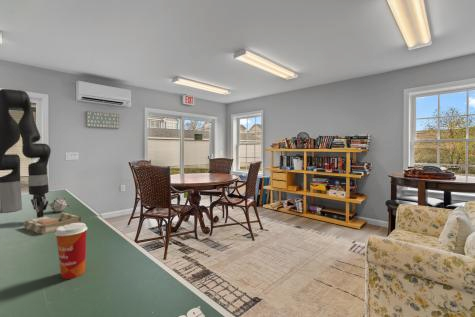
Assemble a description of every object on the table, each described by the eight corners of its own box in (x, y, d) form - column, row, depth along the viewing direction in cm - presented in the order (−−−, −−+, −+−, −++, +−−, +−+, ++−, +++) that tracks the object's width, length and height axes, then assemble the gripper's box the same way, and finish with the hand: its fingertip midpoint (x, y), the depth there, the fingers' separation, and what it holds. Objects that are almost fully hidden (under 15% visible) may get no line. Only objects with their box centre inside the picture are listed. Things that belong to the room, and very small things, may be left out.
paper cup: (51, 277, 66) (48, 228, 66) (80, 264, 73) (78, 220, 72) (66, 284, 63) (63, 233, 62) (95, 270, 69) (93, 224, 69)
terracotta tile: (38, 227, 110) (37, 220, 110) (53, 223, 115) (52, 217, 115) (43, 229, 107) (43, 222, 106) (58, 225, 112) (58, 219, 112)
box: (24, 228, 107) (24, 220, 107) (63, 219, 121) (62, 212, 121) (42, 234, 99) (42, 226, 99) (81, 224, 113) (81, 216, 112)
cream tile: (30, 225, 112) (30, 219, 112) (46, 222, 117) (45, 216, 117) (35, 227, 109) (35, 221, 109) (51, 224, 114) (51, 218, 114)
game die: (63, 217, 136) (75, 203, 138) (51, 216, 128) (64, 201, 130) (54, 209, 138) (65, 194, 140) (41, 207, 130) (54, 192, 132)
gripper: (23, 184, 115) (24, 218, 116) (35, 186, 109) (37, 222, 110) (41, 182, 122) (43, 214, 123) (54, 183, 116) (55, 218, 116)
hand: (40, 218), depth 116 cm, fingers closed
